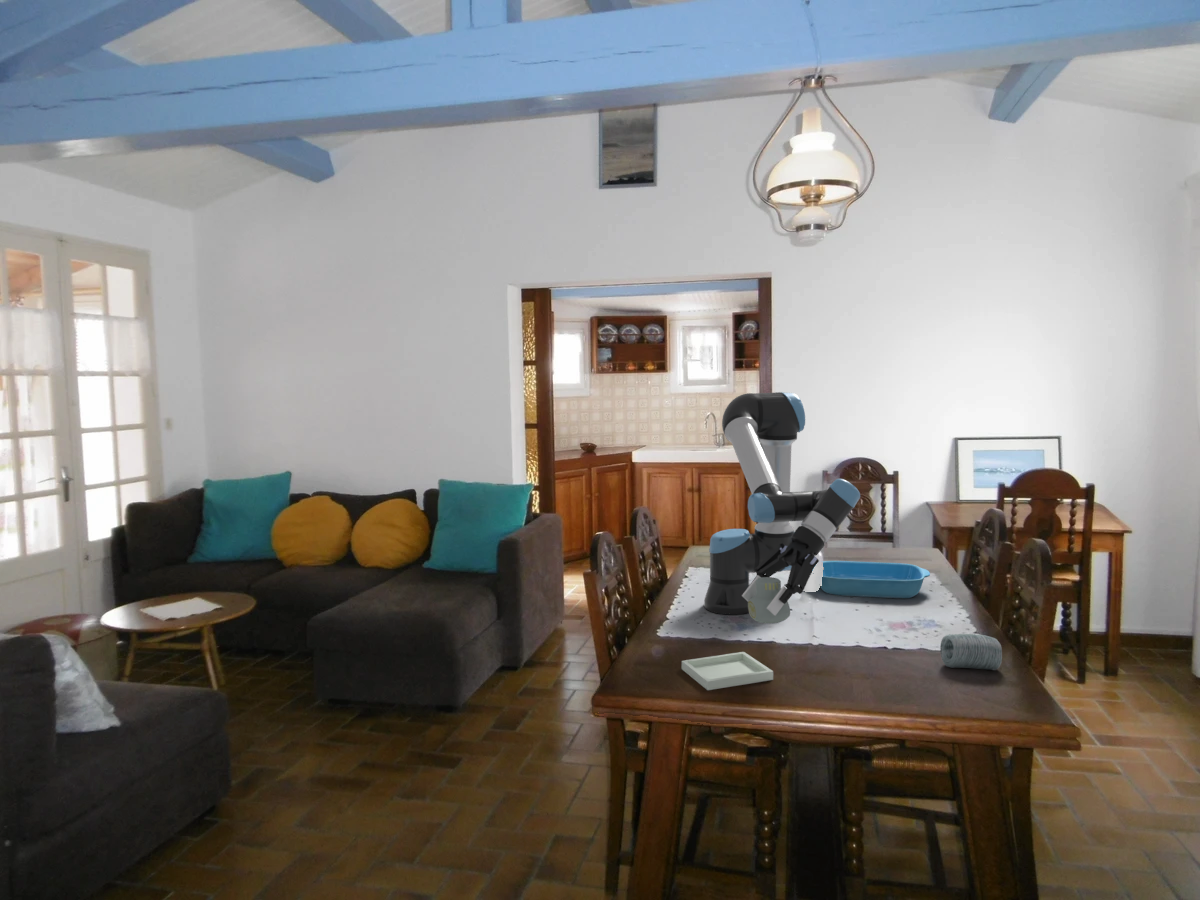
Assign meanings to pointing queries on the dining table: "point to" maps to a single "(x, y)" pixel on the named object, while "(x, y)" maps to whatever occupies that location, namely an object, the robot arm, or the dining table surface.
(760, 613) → the air freshener
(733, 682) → the sage tray
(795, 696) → the dining table surface
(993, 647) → the spool
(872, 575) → the casserole dish
